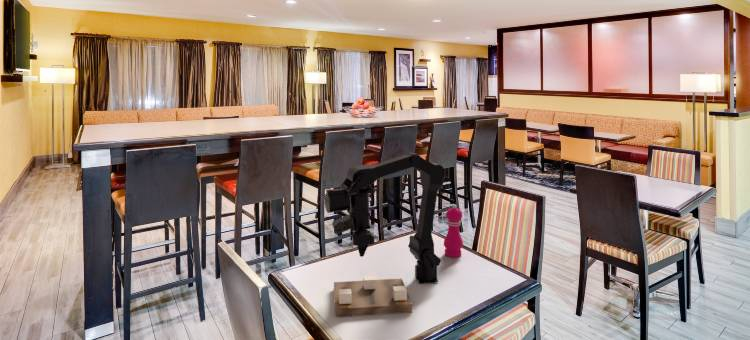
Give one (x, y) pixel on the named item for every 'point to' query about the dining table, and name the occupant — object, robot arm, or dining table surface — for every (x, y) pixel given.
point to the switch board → (371, 299)
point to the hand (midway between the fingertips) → (361, 256)
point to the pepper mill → (453, 233)
